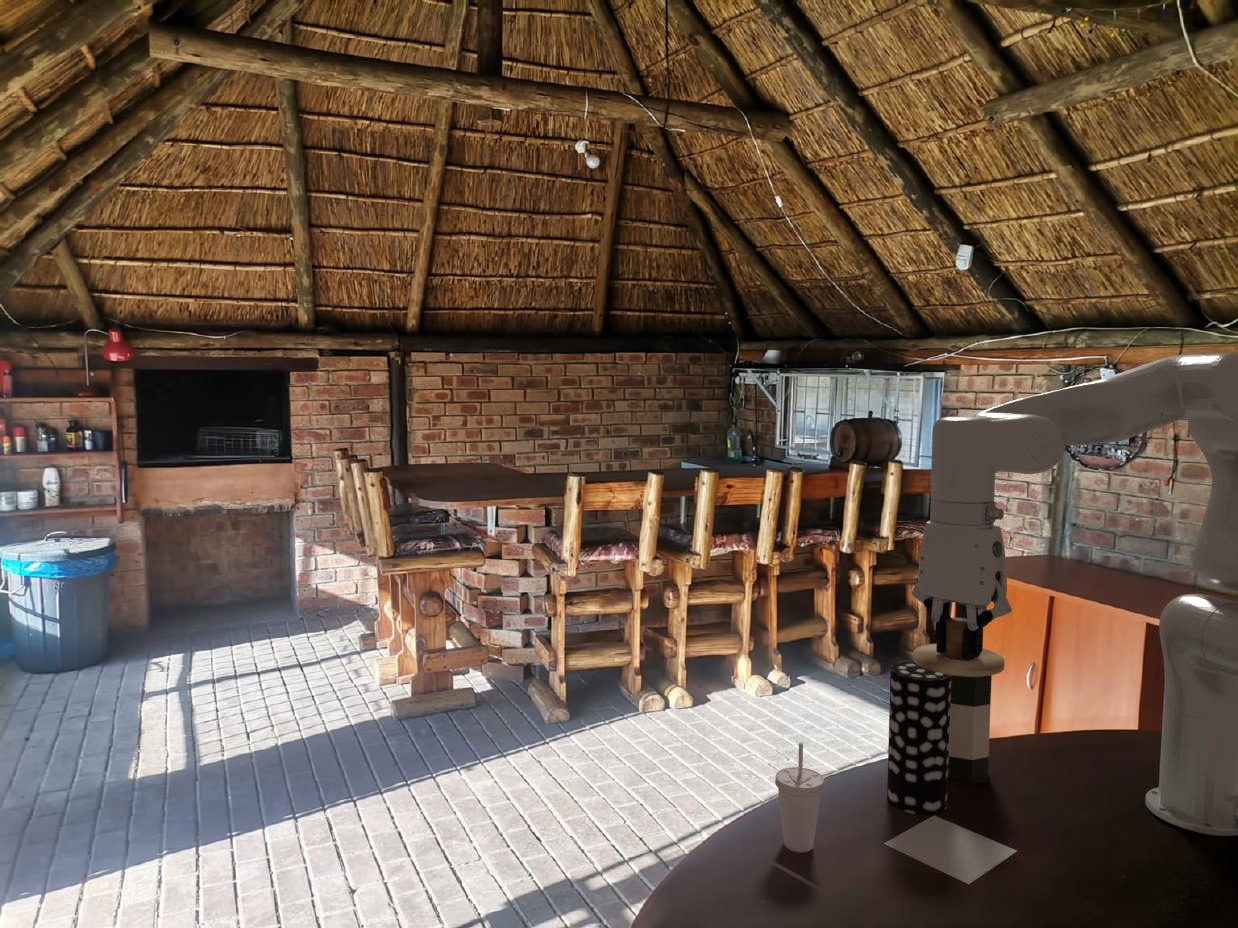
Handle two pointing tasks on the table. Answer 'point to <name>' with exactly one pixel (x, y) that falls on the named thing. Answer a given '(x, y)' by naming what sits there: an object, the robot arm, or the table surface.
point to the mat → (951, 849)
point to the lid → (957, 655)
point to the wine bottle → (969, 725)
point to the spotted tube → (918, 739)
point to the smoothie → (799, 804)
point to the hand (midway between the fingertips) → (958, 653)
